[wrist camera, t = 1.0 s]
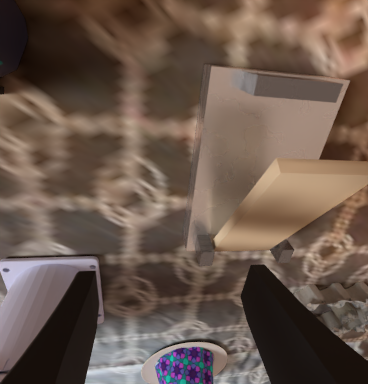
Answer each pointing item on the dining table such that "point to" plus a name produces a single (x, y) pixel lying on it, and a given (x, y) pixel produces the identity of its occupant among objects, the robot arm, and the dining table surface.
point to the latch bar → (289, 201)
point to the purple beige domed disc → (185, 364)
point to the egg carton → (338, 305)
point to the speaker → (11, 37)
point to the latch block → (251, 141)
